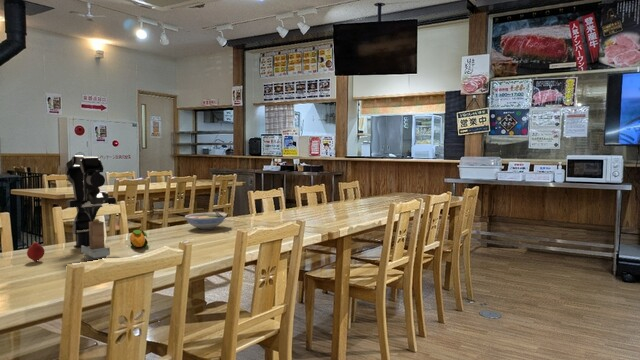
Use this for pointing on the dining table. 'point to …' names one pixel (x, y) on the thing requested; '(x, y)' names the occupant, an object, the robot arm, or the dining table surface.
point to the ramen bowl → (205, 220)
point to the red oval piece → (35, 251)
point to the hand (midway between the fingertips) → (92, 221)
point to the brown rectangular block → (96, 234)
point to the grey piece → (95, 252)
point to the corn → (138, 239)
